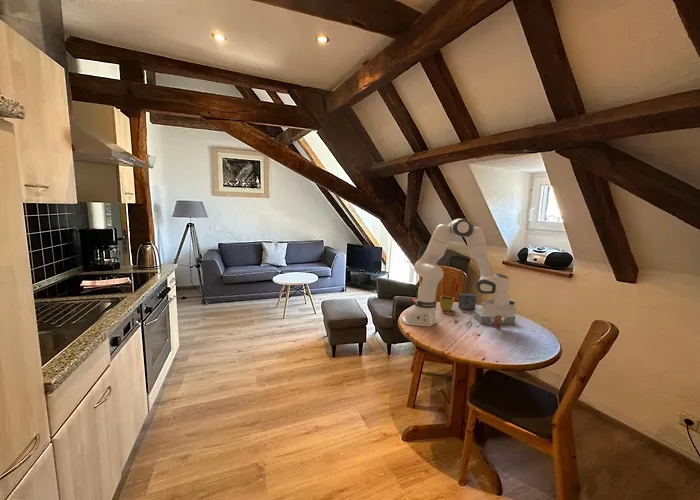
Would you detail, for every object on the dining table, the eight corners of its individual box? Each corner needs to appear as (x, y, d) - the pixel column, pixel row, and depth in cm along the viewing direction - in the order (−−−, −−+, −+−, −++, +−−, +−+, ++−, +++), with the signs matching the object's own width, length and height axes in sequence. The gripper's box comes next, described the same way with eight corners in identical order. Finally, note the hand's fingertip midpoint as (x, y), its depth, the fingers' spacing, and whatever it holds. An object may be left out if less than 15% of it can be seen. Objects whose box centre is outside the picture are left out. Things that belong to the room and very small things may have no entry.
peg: (495, 328, 193) (497, 312, 191) (493, 326, 196) (494, 311, 194) (500, 328, 193) (502, 312, 191) (498, 326, 196) (499, 311, 194)
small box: (472, 307, 231) (473, 293, 229) (475, 310, 224) (476, 296, 223) (458, 306, 232) (458, 292, 230) (460, 309, 225) (461, 295, 224)
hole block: (480, 323, 200) (481, 316, 199) (473, 317, 211) (474, 310, 210) (514, 324, 200) (515, 316, 199) (506, 317, 211) (506, 310, 210)
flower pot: (453, 309, 226) (454, 297, 224) (451, 313, 218) (452, 300, 217) (441, 307, 230) (441, 295, 228) (439, 311, 222) (439, 298, 220)
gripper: (484, 301, 188) (483, 323, 191) (518, 302, 189) (516, 324, 191) (480, 298, 195) (478, 319, 197) (513, 298, 195) (511, 320, 197)
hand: (497, 321), depth 194 cm, fingers open, 4 cm apart
